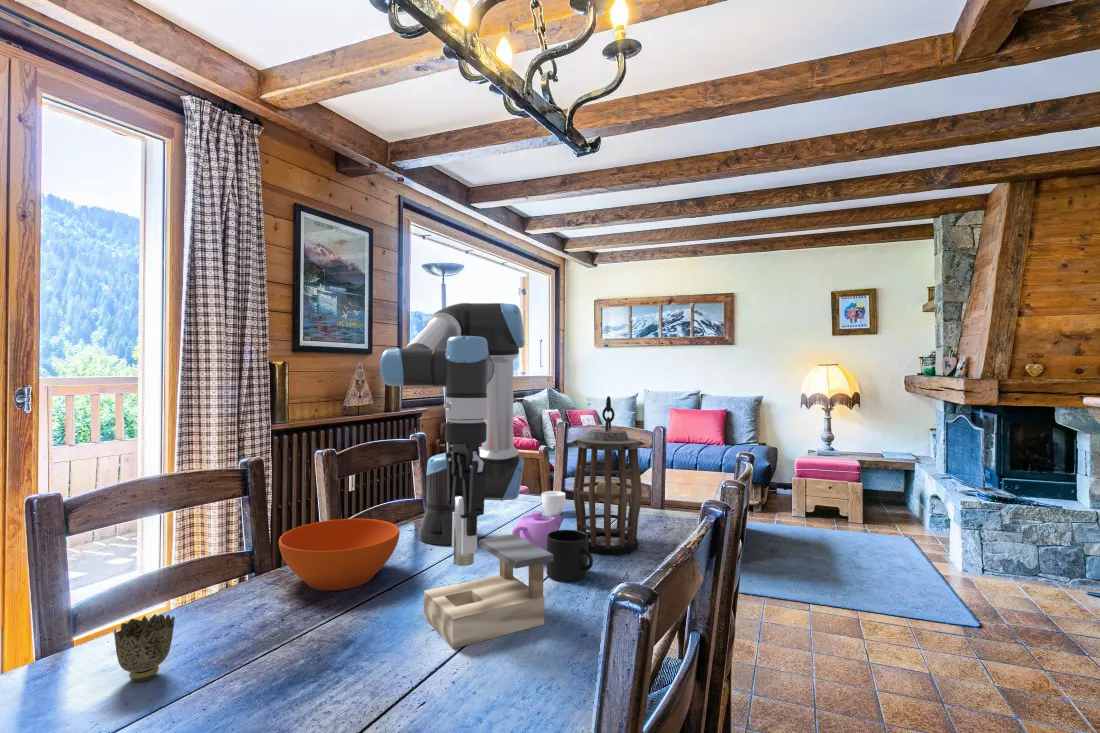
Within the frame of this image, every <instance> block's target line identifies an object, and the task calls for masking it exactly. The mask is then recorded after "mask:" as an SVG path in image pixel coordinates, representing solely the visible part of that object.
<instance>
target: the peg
mask: <svg viewBox="0 0 1100 733" xmlns="http://www.w3.org/2000/svg"><path fill="white" fill-rule="evenodd" d="M460 515H464V502H463V494H462V495H456V496H455V521H454V548H453V565H455V566H457V567H458V566H459V567H467V566H470V565H473V564H474V560H475V556H474V555H475V553H470V554H464V555H463V554H461V532H462V518H461V517H460Z"/></svg>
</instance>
